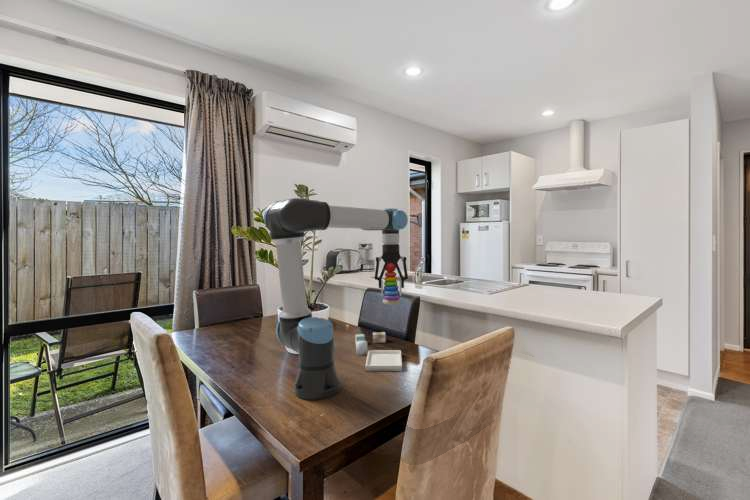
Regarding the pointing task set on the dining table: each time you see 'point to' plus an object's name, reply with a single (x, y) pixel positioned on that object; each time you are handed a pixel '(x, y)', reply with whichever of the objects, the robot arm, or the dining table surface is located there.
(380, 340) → the birch brick
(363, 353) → the light grey cube
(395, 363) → the cream tray
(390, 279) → the stacking toy
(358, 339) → the teal cube
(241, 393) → the dining table surface
